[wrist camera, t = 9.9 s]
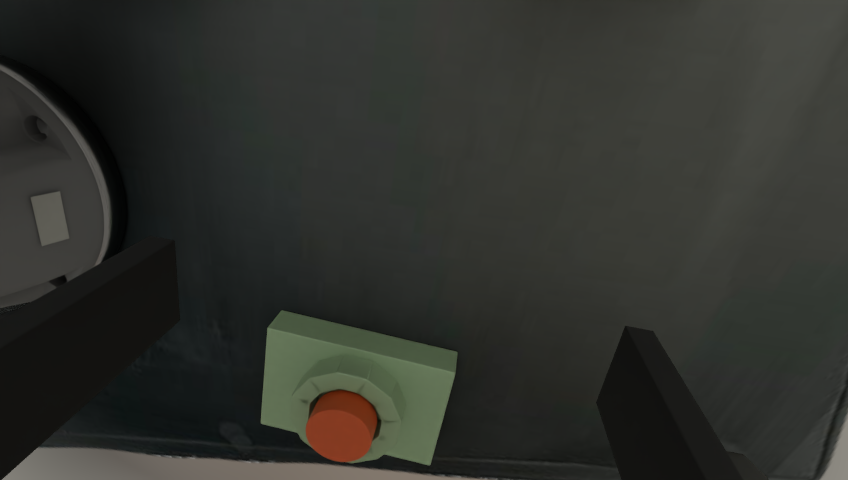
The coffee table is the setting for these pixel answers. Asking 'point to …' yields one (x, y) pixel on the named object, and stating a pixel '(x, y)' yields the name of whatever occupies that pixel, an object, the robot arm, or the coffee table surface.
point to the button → (342, 426)
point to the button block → (358, 381)
